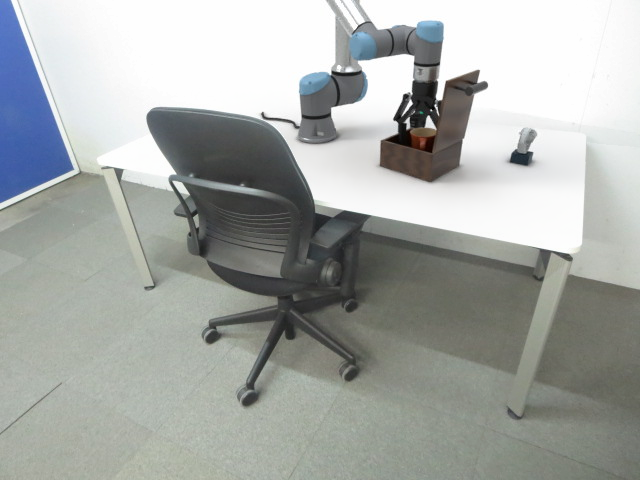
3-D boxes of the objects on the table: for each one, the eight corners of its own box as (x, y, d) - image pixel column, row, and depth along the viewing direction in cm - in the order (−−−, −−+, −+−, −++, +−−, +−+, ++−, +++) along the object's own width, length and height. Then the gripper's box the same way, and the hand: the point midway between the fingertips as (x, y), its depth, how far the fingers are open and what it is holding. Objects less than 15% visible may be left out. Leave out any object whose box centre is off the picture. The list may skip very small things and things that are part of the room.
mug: (409, 156, 144) (411, 127, 139) (435, 157, 142) (438, 127, 137) (406, 171, 135) (408, 139, 129) (434, 172, 133) (437, 140, 127)
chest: (379, 166, 141) (380, 140, 136) (409, 151, 150) (411, 127, 146) (430, 182, 129) (432, 154, 124) (459, 165, 138) (462, 139, 133)
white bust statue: (533, 159, 140) (541, 126, 134) (525, 167, 134) (533, 133, 129) (515, 155, 143) (522, 123, 137) (507, 163, 138) (514, 130, 132)
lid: (445, 80, 112) (466, 86, 108) (477, 69, 121) (498, 74, 118) (431, 152, 124) (450, 160, 121) (462, 137, 133) (479, 143, 130)
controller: (406, 136, 163) (408, 110, 158) (419, 127, 172) (421, 102, 166) (416, 138, 161) (418, 112, 156) (429, 128, 170) (432, 103, 164)
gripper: (384, 76, 131) (381, 142, 143) (456, 89, 116) (446, 161, 127) (399, 71, 135) (395, 136, 147) (470, 83, 120) (459, 154, 132)
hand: (419, 148), depth 137 cm, fingers open, 13 cm apart
